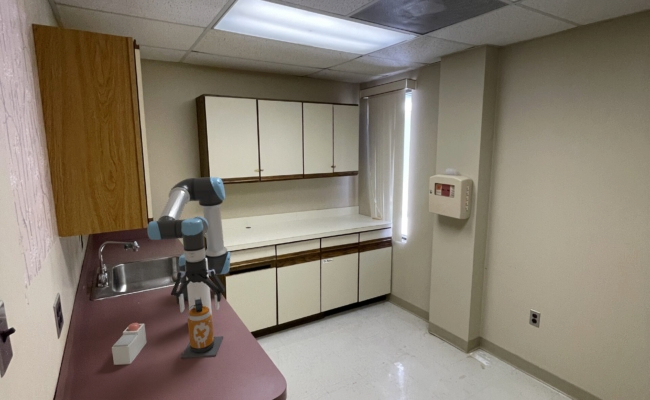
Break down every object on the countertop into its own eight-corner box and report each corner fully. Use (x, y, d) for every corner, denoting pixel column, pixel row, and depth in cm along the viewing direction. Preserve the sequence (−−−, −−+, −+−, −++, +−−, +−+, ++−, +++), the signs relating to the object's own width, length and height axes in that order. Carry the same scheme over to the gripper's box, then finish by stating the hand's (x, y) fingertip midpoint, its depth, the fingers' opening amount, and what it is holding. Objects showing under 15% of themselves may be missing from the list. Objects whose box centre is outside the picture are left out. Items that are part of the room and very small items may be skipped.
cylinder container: (205, 328, 154) (199, 263, 149) (186, 326, 156) (180, 262, 151) (216, 317, 163) (211, 256, 158) (198, 316, 165) (192, 255, 160)
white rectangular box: (132, 343, 143) (129, 324, 142) (147, 342, 143) (144, 323, 142) (114, 364, 129) (111, 343, 128) (130, 363, 130) (128, 342, 128)
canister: (191, 356, 132) (186, 307, 129) (189, 341, 142) (185, 295, 139) (215, 350, 136) (211, 302, 133) (212, 336, 146) (208, 291, 143)
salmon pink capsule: (133, 341, 142) (131, 322, 140) (142, 340, 142) (140, 322, 141) (128, 346, 138) (126, 327, 137) (138, 345, 138) (135, 327, 137)
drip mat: (191, 339, 145) (191, 338, 145) (223, 337, 146) (223, 336, 146) (181, 358, 132) (181, 356, 132) (215, 356, 133) (215, 354, 133)
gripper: (158, 263, 128) (164, 316, 132) (226, 261, 130) (230, 313, 134) (165, 256, 136) (171, 306, 140) (230, 254, 137) (233, 303, 141)
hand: (200, 309), depth 137 cm, fingers open, 13 cm apart
